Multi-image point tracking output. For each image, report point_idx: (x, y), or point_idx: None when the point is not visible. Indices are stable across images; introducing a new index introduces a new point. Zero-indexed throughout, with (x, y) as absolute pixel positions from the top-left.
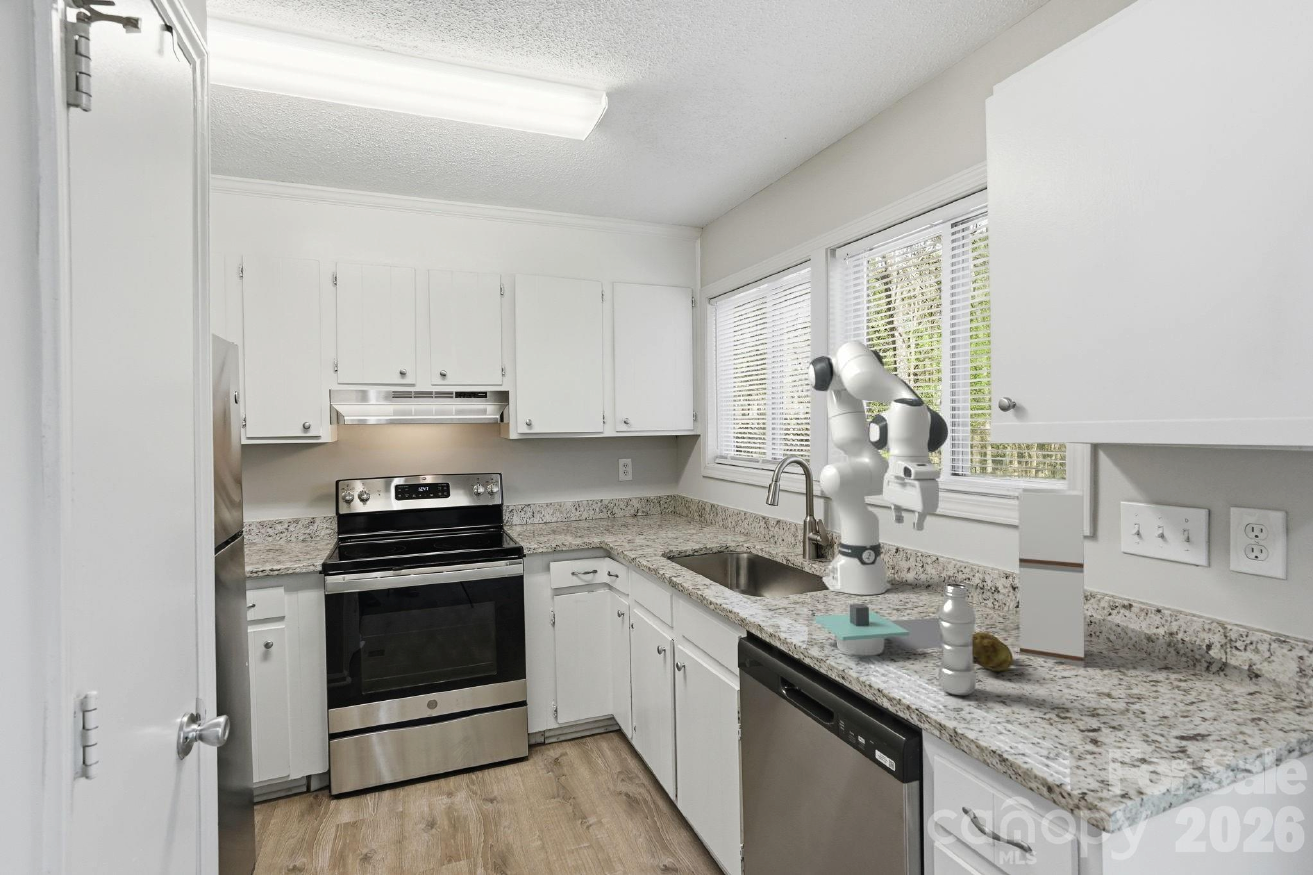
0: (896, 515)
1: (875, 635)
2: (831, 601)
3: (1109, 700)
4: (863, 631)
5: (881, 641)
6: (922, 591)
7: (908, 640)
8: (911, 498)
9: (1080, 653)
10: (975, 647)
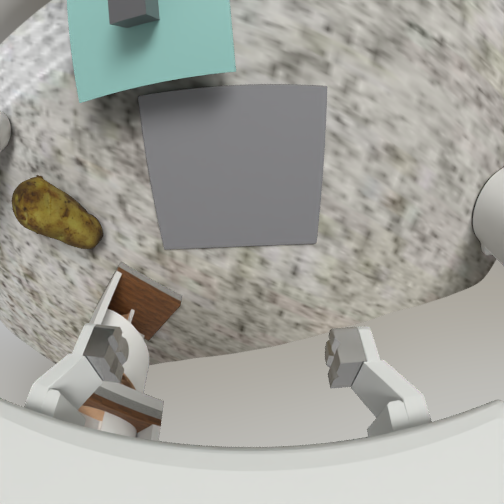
0: (360, 367)
1: (70, 32)
2: (476, 115)
3: (19, 269)
4: (88, 10)
5: None
6: (449, 285)
7: (188, 124)
8: (25, 486)
9: (93, 313)
10: (16, 188)
